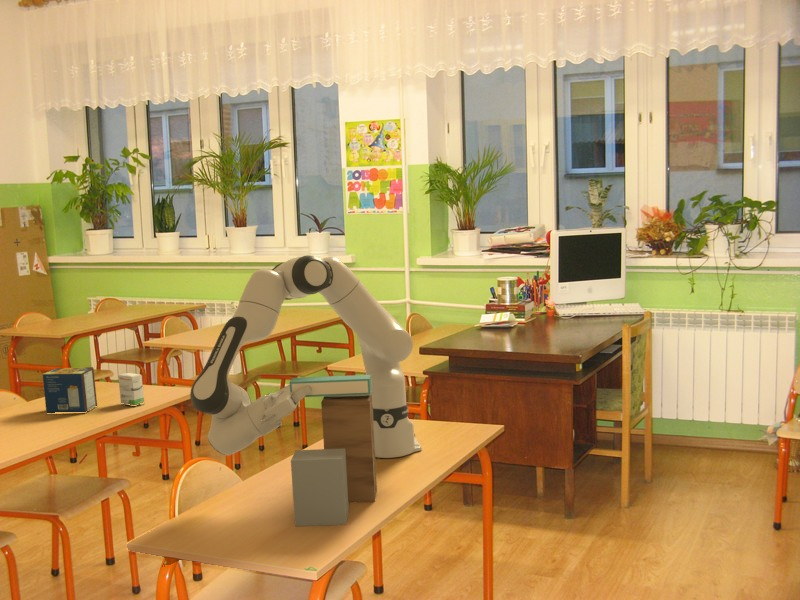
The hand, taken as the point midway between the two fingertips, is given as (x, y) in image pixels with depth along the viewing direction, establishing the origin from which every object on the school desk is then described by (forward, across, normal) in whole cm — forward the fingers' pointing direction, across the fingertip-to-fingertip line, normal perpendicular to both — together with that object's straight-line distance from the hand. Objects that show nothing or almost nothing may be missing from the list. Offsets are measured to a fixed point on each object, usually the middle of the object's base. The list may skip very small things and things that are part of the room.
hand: (312, 385), depth 224 cm
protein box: (-106, +102, -27) cm, 150 cm away
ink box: (-88, +108, -16) cm, 140 cm away
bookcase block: (-7, 0, +30) cm, 31 cm away
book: (+3, 0, +4) cm, 5 cm away
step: (-12, -15, +27) cm, 33 cm away
